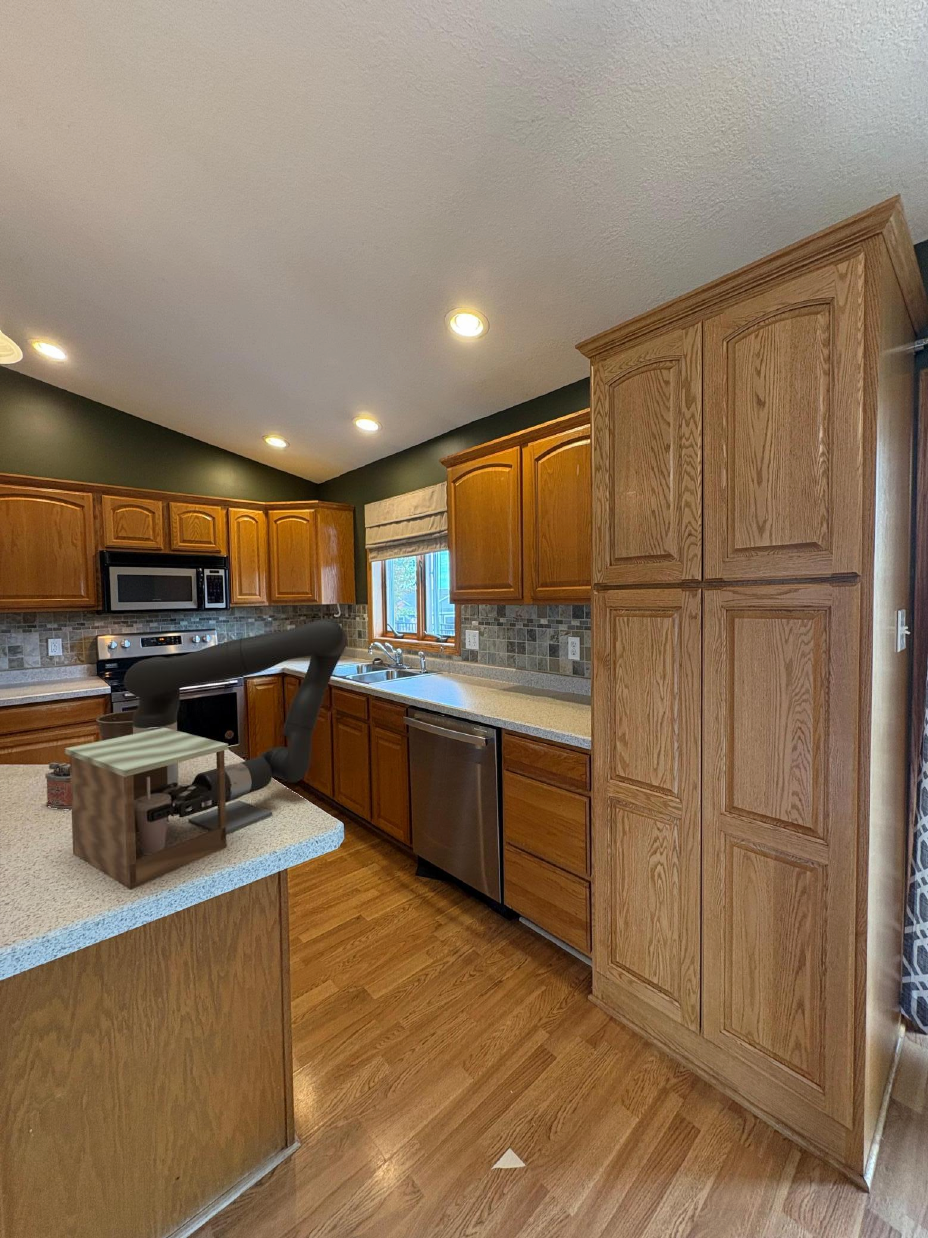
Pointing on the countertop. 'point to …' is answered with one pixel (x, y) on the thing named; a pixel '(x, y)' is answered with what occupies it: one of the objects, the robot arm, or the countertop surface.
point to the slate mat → (231, 817)
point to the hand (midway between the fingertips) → (138, 812)
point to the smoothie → (151, 831)
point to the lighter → (59, 786)
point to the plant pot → (116, 724)
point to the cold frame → (107, 797)
